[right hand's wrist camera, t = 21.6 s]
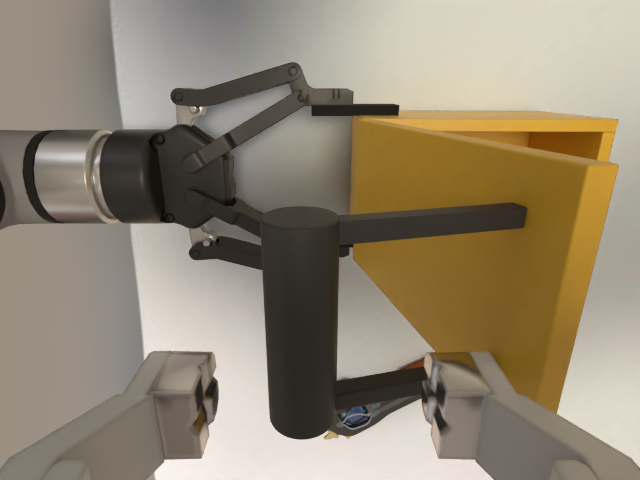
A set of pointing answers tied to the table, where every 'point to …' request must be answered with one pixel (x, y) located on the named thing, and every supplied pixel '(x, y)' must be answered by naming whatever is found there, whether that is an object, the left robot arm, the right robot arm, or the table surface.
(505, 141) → the chest
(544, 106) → the table surface
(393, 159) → the lid
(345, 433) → the toy gun
